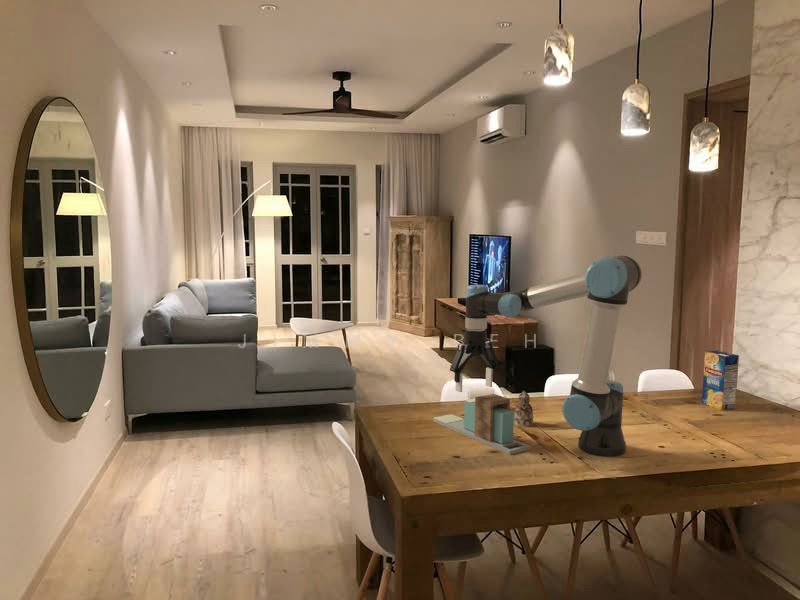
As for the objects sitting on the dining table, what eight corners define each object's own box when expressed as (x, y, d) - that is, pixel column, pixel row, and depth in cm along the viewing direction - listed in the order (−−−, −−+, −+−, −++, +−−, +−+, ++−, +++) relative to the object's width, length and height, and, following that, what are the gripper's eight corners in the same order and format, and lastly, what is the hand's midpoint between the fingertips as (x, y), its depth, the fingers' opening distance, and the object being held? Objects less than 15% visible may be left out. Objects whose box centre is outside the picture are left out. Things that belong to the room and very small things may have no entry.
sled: (513, 441, 223) (513, 411, 221) (501, 443, 220) (502, 413, 219) (474, 425, 239) (475, 397, 238) (463, 427, 237) (464, 399, 235)
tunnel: (508, 437, 227) (509, 398, 225) (489, 442, 222) (490, 402, 221) (493, 431, 234) (494, 393, 232) (474, 435, 229) (475, 397, 227)
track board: (529, 449, 219) (530, 445, 219) (509, 454, 214) (509, 450, 214) (451, 417, 254) (451, 414, 254) (432, 421, 249) (432, 417, 249)
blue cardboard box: (722, 410, 266) (725, 356, 264) (701, 403, 277) (704, 351, 274) (735, 408, 269) (739, 355, 266) (714, 401, 279) (718, 350, 276)
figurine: (512, 425, 245) (513, 393, 243) (514, 419, 251) (515, 389, 250) (531, 427, 243) (533, 395, 241) (533, 421, 249) (535, 390, 248)
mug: (494, 411, 263) (494, 391, 262) (468, 410, 263) (469, 391, 262) (490, 402, 275) (491, 384, 274) (466, 402, 275) (466, 383, 274)
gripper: (495, 324, 242) (493, 381, 244) (440, 330, 228) (439, 390, 231) (509, 328, 235) (507, 386, 238) (454, 333, 222) (452, 395, 224)
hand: (474, 388), depth 234 cm, fingers open, 13 cm apart
